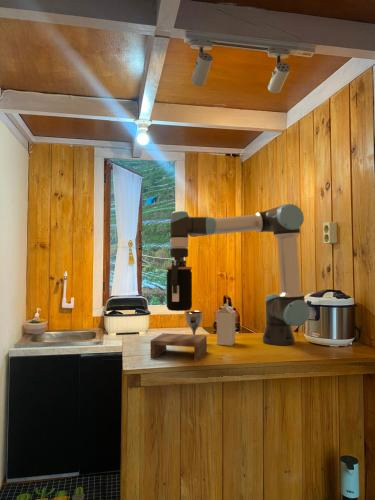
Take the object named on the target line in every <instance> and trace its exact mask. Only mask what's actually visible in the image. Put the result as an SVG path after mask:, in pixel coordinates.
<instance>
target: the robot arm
mask: <svg viewBox="0 0 375 500" xmlns="http://www.w3.org/2000/svg"><path fill="white" fill-rule="evenodd" d="M304 216H305V215H304V213H303V211H302V209H301V208H300V207H299V206H297V205H295V204H294V203H287V204H281V205H278V206H277V207H276V206H275V207H273V208H271V209H267V210H265V211H258V212H256V213H255V214H250V215H239V216H238V215H236V216H228V217H227V216H225V217H217V218H215V217H211V216H189V213H188V211H185V210H184V211H183V210H180V211H178V210H177V211H175V210H174V211H172V212H171V213H170V222H169V223H170V225H169V226H170V230H169V231H170V240H169V243H170V253H169V254H170V255H169V256H170V258H174V260H171V267H172V271H171V281H170V285H172V302H179V286H178V283H179V276H178V267H187V260H185V259H184V258H188V257H189V248H188V247H189V237H190V238H191V237H192V238H195V237H196V238H197V237H203V236H210V235H213V236H214V235H221V234H222V235H223V234H232V233H244V232H253V231H256V232H257V233H265V232H266V233H267V232H268V233H273V236H274V238H276V240H277V242H276V243H277V254H278V256H277V257H278V266H279V267H278V270H279V271H278V272H279V283H280V287H279V288H280V292H279V293H278V294H268V295H266V297H265V323H266V324H265V328H264V331H263V335H262V343H263V344H268V345H274V346H290V345H293V344H295V339H296V338H295V335H294V333H293V330H292V326H293V327H301V326H302V325H304V324H305V323H306V322H307V321H308V320H309V318H310V315H311V308H310V306H309V305H308V303H307V302H306V301H305V294H304V293H303V292H302V291H301V281H300V279H301V278H300V268H299V267H300V266H299V251H298V237H299V236H300V234H301V227H302V225H303V224H304V219H305V217H304Z"/></svg>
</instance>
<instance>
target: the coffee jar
mask: <svg viewBox="0 0 375 500" xmlns="http://www.w3.org/2000/svg"><path fill="white" fill-rule="evenodd" d="M192 267H193V266H186V267H178V276H179V283H178V286H179V302H172V285H170V281H171V271H172V266H166V269H167V272H166V308H167V309H168V311H173V312H183V311H185V312H187V311H191V309H192V308H193V273H192Z"/></svg>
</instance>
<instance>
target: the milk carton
mask: <svg viewBox="0 0 375 500" xmlns="http://www.w3.org/2000/svg"><path fill="white" fill-rule="evenodd" d="M235 343H236V311H235V310H234V307H232V306H229V303H228V302H227V303H225V304H224V303H223V307H222V308H220V309H219V311H217V312H216V345H217V346H218V345H220V346H231V347H232V346H233V345H234V344H235Z"/></svg>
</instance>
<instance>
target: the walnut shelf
mask: <svg viewBox="0 0 375 500" xmlns="http://www.w3.org/2000/svg"><path fill="white" fill-rule="evenodd" d="M207 338H208V336H207V335H205V334H195V335H193V334H187V333H185V334H184V333H169V332H168V333H167V332H165V333H161V334H159V335H158V336H156V337H153V338H152V339H150V355H149V356H150V359H154V358H156V357H158V356H159V355H161V354H162V353H163V352H165V351H166V350H167V346H172V347H190V348H191V347H192V348H194V349H193V350H194V356H193V357H194V361H195V362H199V361H201V359H202V358H203V357H204V355H205V354H206V353H207V349H208V348H207V347H208V345H207V343H208V342H207Z"/></svg>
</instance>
